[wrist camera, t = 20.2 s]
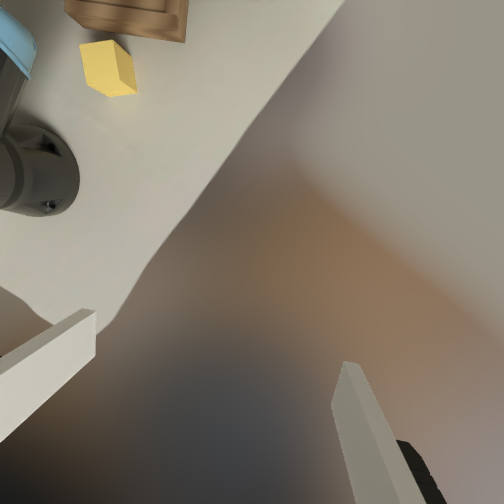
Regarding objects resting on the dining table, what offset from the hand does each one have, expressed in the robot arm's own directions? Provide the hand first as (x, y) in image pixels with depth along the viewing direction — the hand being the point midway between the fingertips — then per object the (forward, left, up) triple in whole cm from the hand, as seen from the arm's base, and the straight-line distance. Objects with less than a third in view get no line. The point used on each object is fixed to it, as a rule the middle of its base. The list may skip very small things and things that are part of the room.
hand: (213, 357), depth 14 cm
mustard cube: (-26, +22, -33) cm, 47 cm away
